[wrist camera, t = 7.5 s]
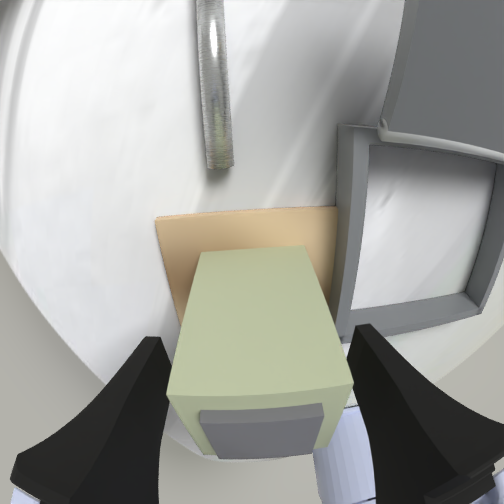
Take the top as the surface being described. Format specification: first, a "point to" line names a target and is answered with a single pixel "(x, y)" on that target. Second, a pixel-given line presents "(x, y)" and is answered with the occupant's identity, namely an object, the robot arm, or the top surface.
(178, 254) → the mat
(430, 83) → the lid
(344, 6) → the top surface
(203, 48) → the rod
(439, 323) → the case
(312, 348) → the block
